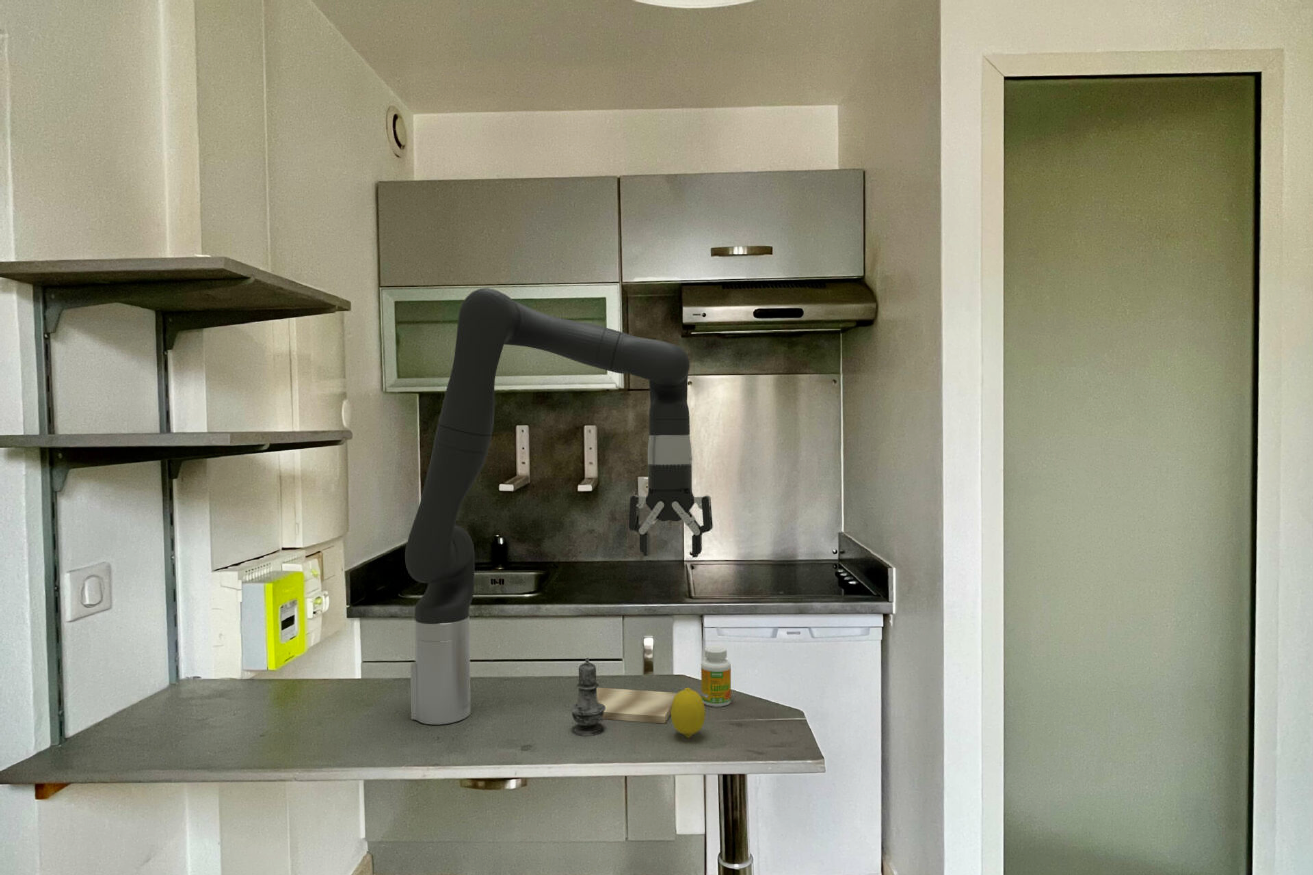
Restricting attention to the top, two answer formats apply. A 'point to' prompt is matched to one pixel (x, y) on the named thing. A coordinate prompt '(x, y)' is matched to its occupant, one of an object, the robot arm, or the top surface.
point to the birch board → (635, 705)
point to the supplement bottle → (716, 677)
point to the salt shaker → (587, 703)
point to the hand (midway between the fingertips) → (670, 556)
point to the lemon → (688, 712)
